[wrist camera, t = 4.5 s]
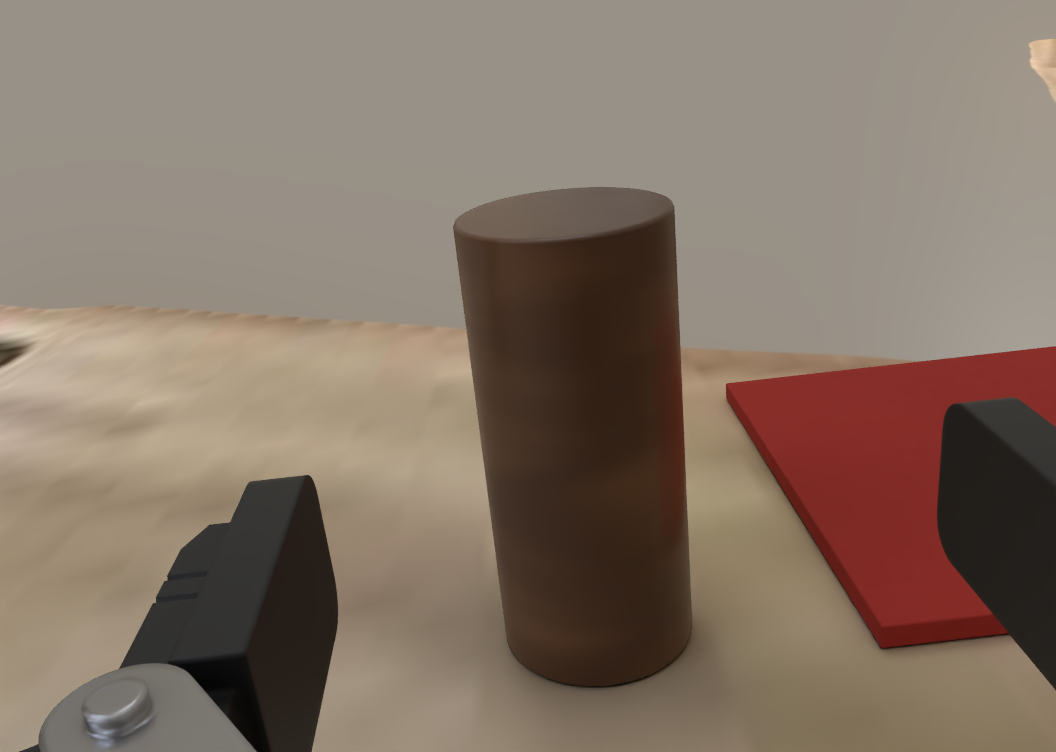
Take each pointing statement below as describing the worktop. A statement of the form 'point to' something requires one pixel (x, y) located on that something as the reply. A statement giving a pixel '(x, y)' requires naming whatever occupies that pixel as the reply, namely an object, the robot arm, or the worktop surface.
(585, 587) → the roller
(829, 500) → the red pad
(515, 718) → the worktop surface
